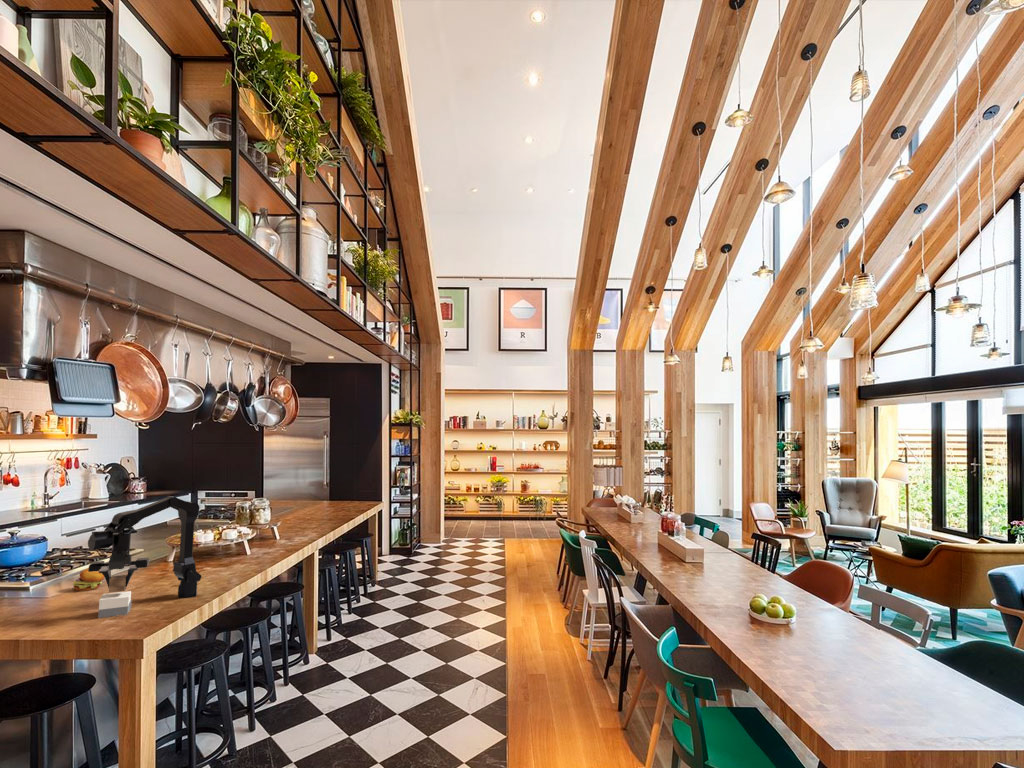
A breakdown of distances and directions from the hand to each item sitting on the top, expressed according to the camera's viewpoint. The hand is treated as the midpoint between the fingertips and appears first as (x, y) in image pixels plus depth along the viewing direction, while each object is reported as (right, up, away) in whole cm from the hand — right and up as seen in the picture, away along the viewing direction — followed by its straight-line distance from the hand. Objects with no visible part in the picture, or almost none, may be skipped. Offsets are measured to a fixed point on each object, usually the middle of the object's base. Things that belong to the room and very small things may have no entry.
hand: (117, 587), depth 211 cm
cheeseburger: (-36, -13, +32) cm, 49 cm away
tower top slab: (0, -6, -1) cm, 6 cm away
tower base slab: (0, -10, -2) cm, 10 cm away
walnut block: (0, -1, 0) cm, 1 cm away
